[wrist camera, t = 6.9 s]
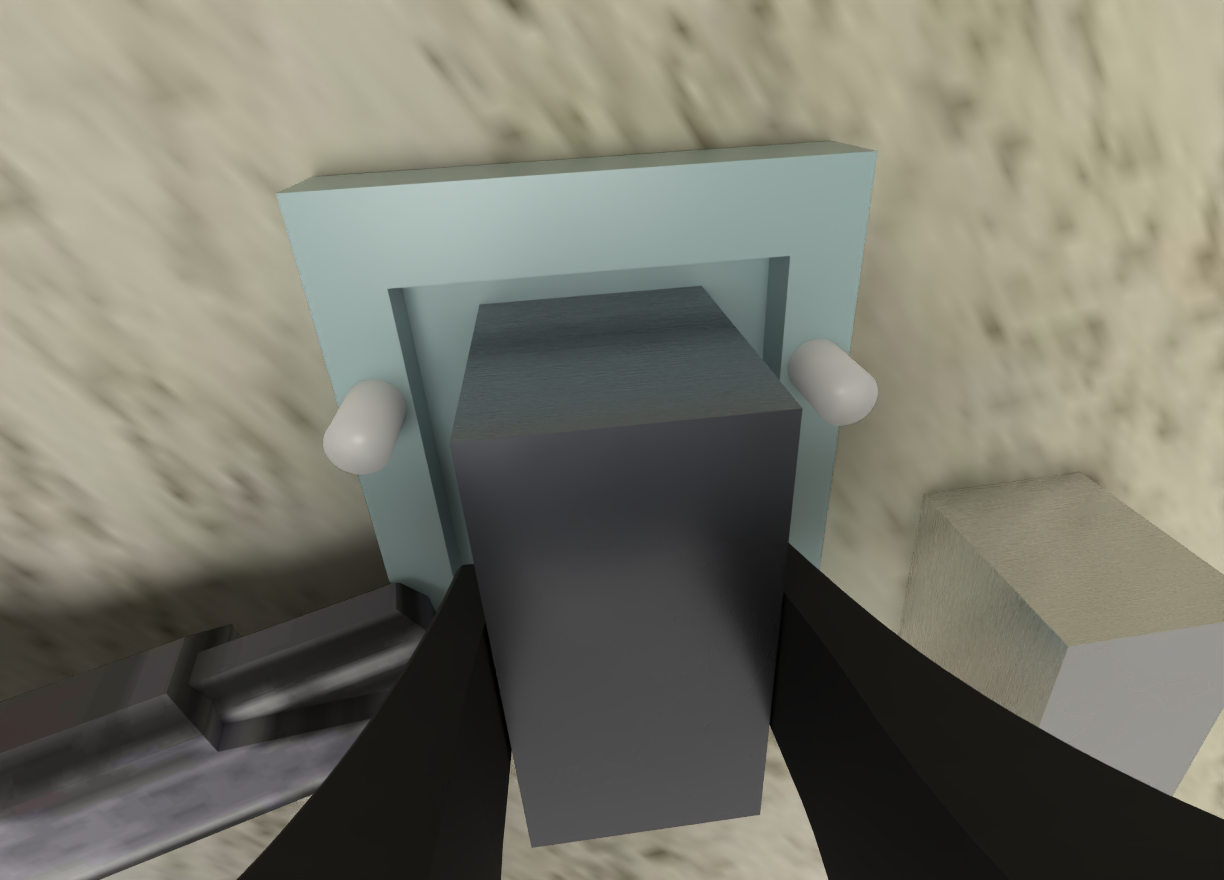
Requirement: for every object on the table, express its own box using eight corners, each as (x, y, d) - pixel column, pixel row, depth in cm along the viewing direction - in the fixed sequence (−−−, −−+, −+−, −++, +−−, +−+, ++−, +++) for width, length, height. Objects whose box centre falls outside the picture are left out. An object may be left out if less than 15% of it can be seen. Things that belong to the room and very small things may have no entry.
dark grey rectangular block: (479, 304, 11) (449, 443, 7) (701, 285, 12) (802, 408, 7) (530, 630, 15) (531, 847, 11) (696, 610, 16) (759, 814, 11)
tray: (776, 654, 18) (821, 760, 15) (448, 695, 17) (433, 814, 15) (830, 140, 12) (925, 162, 9) (311, 176, 11) (237, 211, 8)
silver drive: (1007, 685, 20) (1139, 853, 16) (883, 706, 20) (982, 881, 16) (1076, 468, 16) (1276, 613, 12) (921, 491, 16) (1067, 646, 12)
